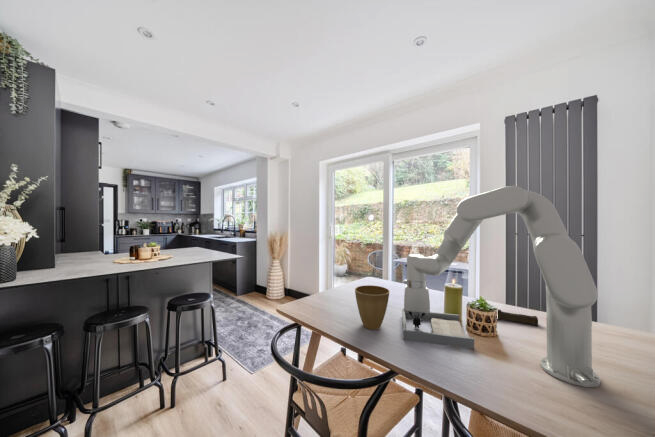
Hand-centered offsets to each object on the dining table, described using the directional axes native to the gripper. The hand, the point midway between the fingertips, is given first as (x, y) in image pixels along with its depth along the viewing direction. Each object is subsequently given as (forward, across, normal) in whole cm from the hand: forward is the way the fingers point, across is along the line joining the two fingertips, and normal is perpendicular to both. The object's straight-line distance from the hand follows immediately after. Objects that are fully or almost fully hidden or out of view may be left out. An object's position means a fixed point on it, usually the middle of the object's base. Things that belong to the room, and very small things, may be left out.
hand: (416, 326), depth 101 cm
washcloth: (+2, +12, 0) cm, 12 cm away
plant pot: (+1, -18, -2) cm, 19 cm away
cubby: (+1, +6, 0) cm, 6 cm away
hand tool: (+1, +41, +19) cm, 45 cm away
